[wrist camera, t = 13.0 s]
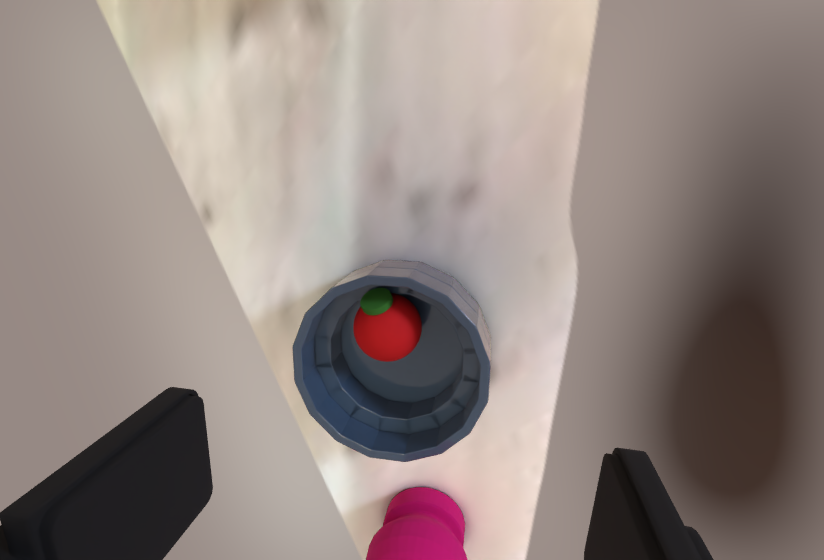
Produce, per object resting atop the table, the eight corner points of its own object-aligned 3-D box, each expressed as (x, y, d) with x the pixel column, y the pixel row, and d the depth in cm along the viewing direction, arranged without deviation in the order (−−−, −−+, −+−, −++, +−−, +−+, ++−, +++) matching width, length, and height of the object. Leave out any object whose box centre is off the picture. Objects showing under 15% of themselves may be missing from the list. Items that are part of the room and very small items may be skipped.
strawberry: (378, 324, 32) (356, 275, 29) (435, 325, 30) (418, 273, 27) (357, 373, 29) (330, 324, 26) (419, 377, 27) (397, 325, 24)
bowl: (319, 254, 31) (288, 270, 26) (495, 263, 29) (496, 283, 24) (325, 408, 34) (297, 448, 29) (484, 426, 32) (483, 472, 27)
